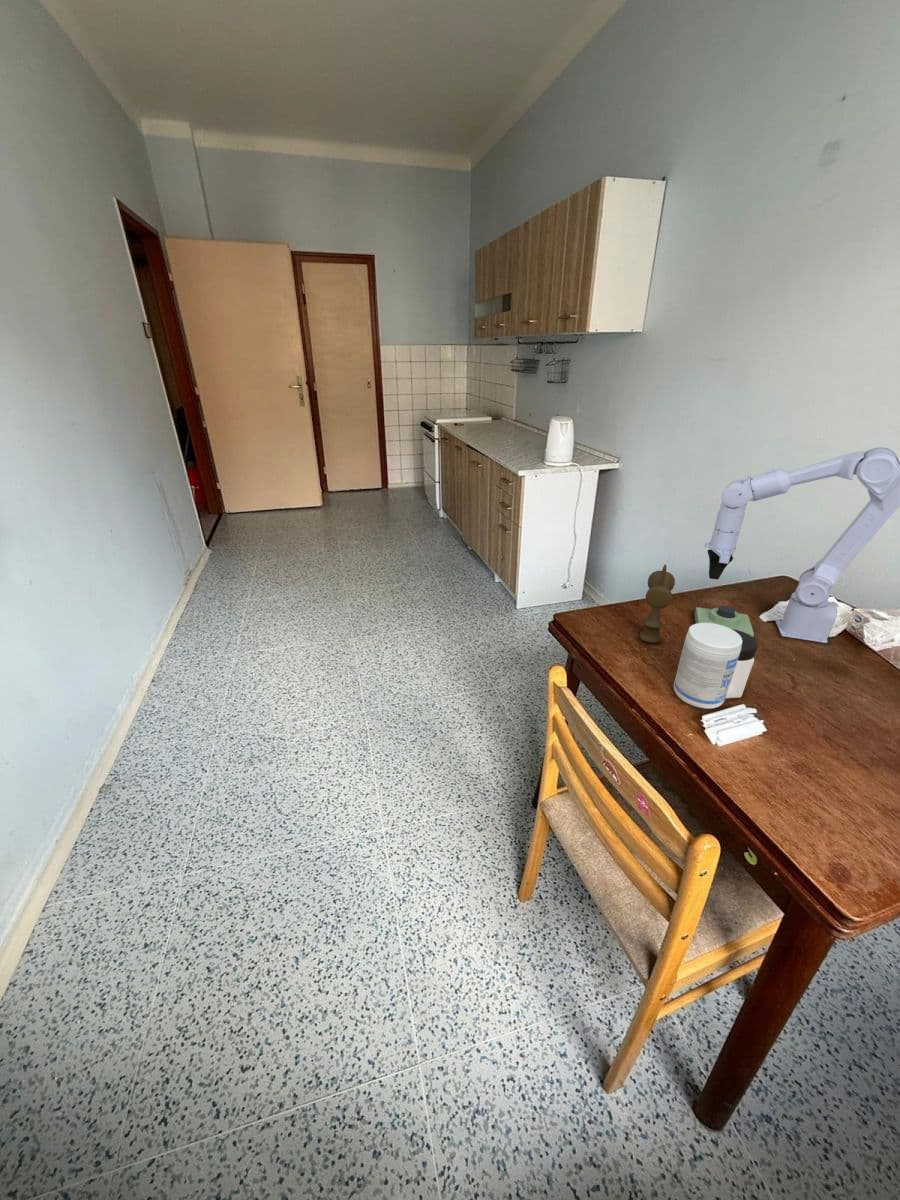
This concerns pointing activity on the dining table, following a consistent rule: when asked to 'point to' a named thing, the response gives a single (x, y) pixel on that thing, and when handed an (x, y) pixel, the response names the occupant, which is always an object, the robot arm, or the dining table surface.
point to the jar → (742, 665)
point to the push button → (726, 611)
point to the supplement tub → (707, 664)
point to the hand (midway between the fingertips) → (713, 578)
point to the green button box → (724, 620)
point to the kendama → (657, 603)
